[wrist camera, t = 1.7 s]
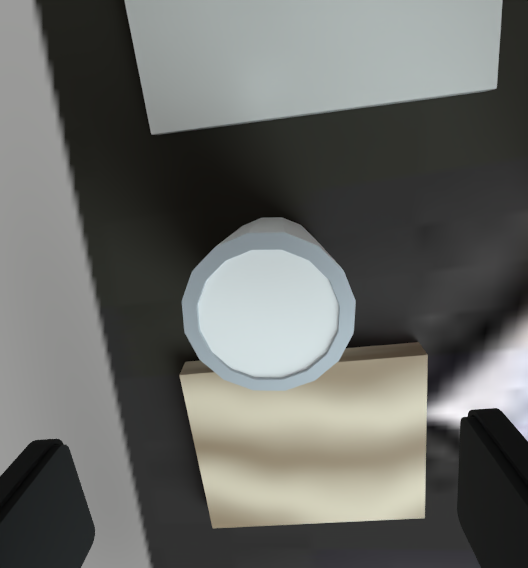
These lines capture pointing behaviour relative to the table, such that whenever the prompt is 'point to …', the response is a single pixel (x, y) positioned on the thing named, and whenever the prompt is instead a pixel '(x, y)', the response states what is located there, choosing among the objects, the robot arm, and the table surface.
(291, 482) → the birch board
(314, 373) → the shot glass
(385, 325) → the table surface
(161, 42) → the grey tile
